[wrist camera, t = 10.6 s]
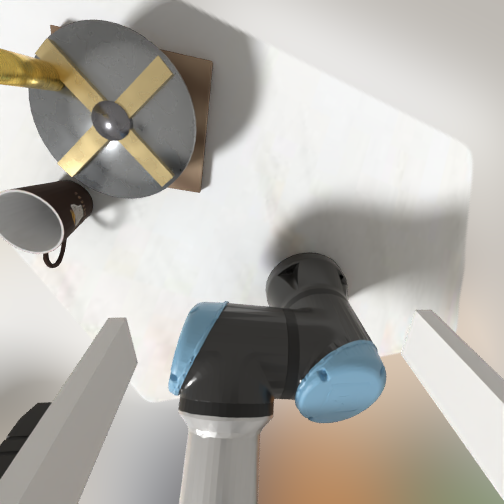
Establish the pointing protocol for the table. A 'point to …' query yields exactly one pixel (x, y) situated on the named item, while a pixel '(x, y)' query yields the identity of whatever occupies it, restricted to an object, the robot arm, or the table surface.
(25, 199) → the coffee mug
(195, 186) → the wheel stand
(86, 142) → the handwheel
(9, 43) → the table surface
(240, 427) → the robot arm
